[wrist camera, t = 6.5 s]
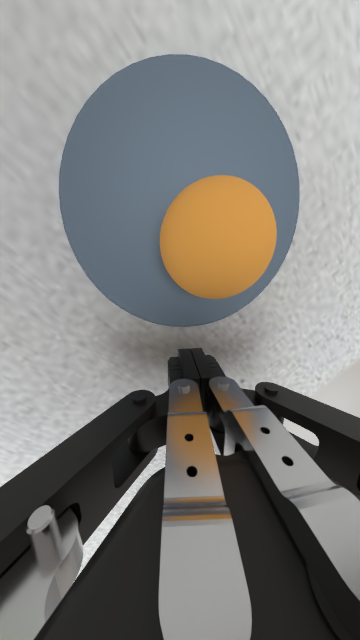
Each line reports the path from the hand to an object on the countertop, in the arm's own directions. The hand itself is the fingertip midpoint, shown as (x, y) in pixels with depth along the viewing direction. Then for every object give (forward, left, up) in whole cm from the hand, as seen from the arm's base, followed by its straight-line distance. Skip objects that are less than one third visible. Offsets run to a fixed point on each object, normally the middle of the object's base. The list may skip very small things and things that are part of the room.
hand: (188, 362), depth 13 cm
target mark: (0, +9, -2) cm, 9 cm away
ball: (+1, +7, +1) cm, 7 cm away
